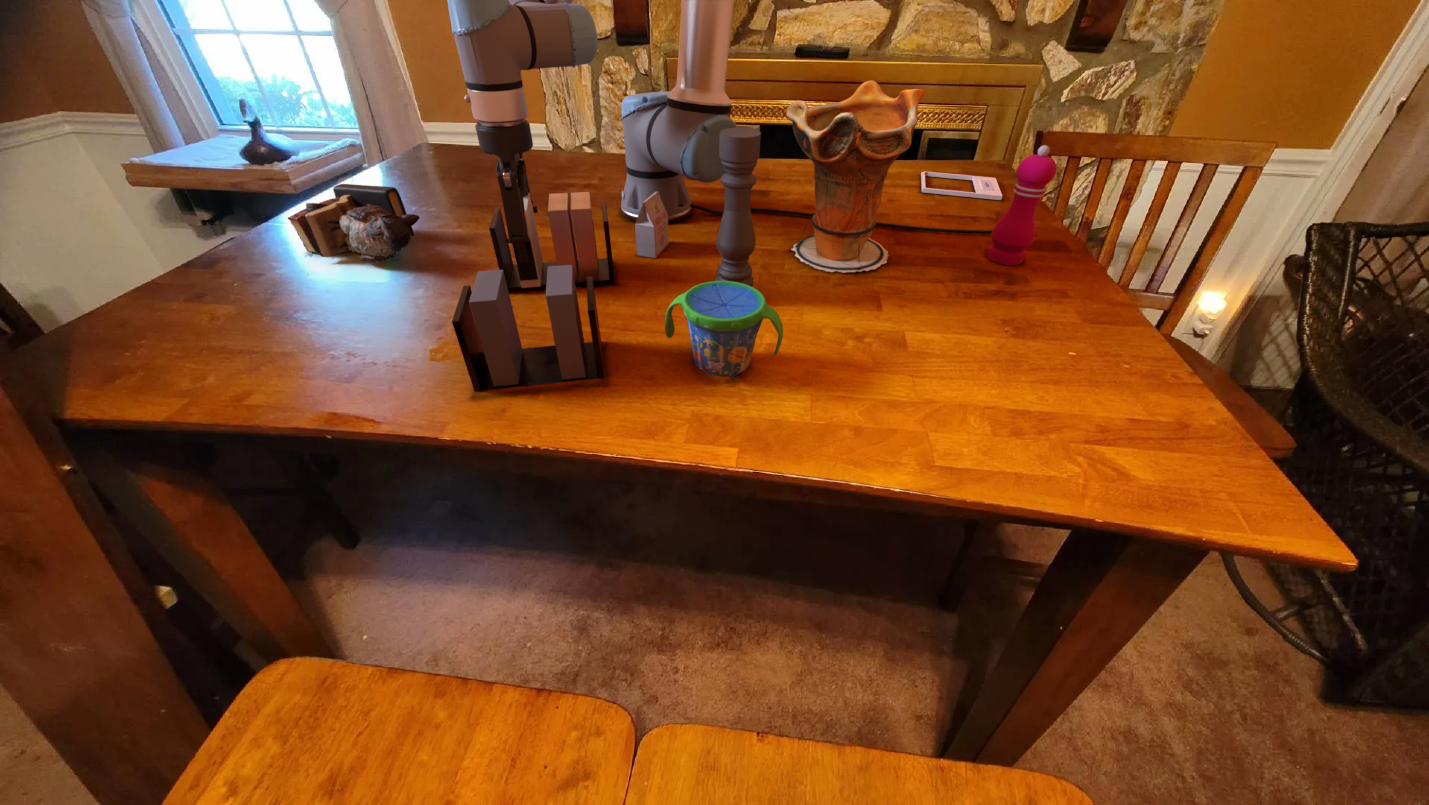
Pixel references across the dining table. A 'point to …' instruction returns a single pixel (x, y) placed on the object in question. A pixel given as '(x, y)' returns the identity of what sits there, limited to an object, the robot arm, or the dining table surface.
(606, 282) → the black rack
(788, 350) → the dining table surface
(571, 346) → the grey book
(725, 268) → the candle holder
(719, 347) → the snack cup
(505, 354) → the grey book
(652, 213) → the milk carton
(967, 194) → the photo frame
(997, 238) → the pepper mill
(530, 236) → the white book
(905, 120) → the decorative vase
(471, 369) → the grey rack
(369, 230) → the bookend
